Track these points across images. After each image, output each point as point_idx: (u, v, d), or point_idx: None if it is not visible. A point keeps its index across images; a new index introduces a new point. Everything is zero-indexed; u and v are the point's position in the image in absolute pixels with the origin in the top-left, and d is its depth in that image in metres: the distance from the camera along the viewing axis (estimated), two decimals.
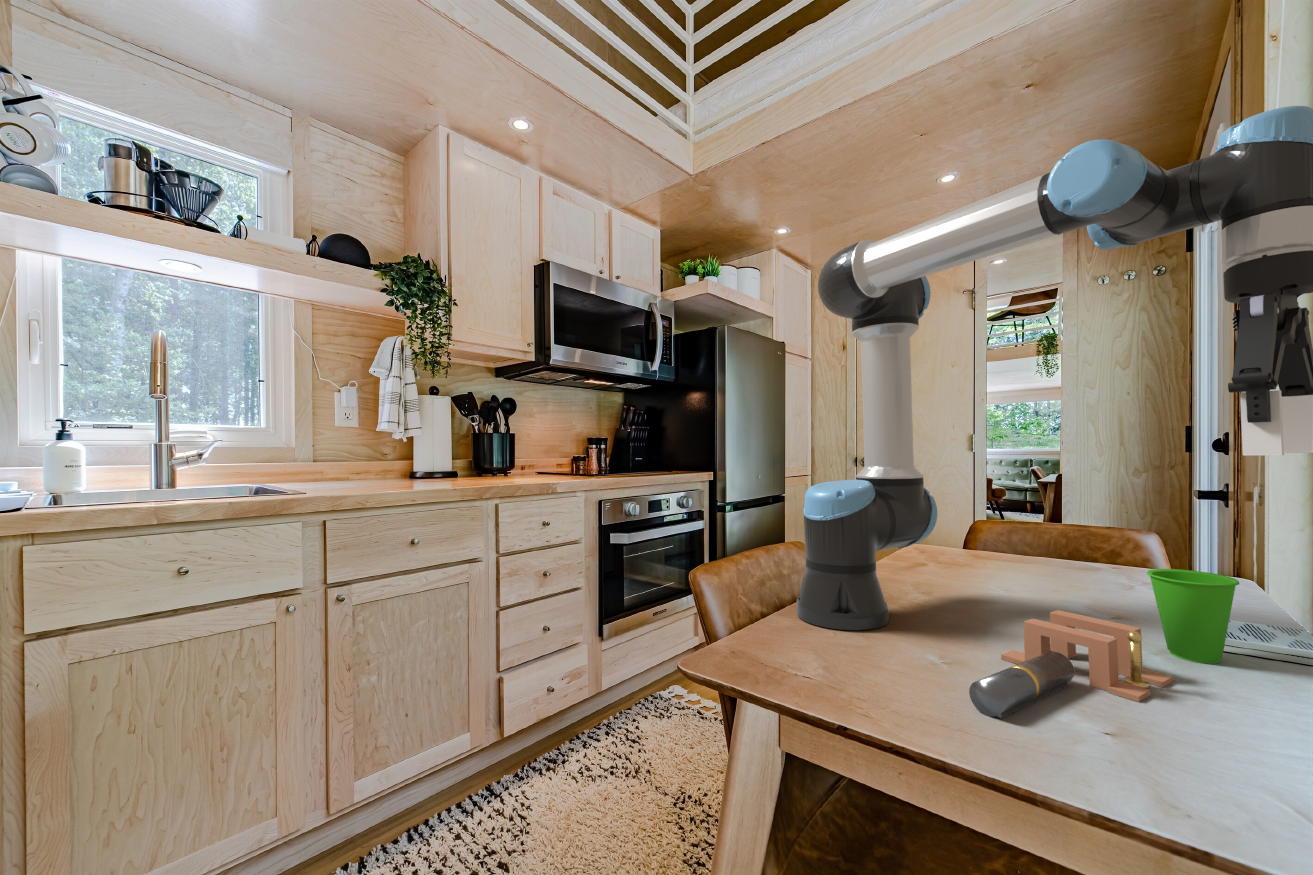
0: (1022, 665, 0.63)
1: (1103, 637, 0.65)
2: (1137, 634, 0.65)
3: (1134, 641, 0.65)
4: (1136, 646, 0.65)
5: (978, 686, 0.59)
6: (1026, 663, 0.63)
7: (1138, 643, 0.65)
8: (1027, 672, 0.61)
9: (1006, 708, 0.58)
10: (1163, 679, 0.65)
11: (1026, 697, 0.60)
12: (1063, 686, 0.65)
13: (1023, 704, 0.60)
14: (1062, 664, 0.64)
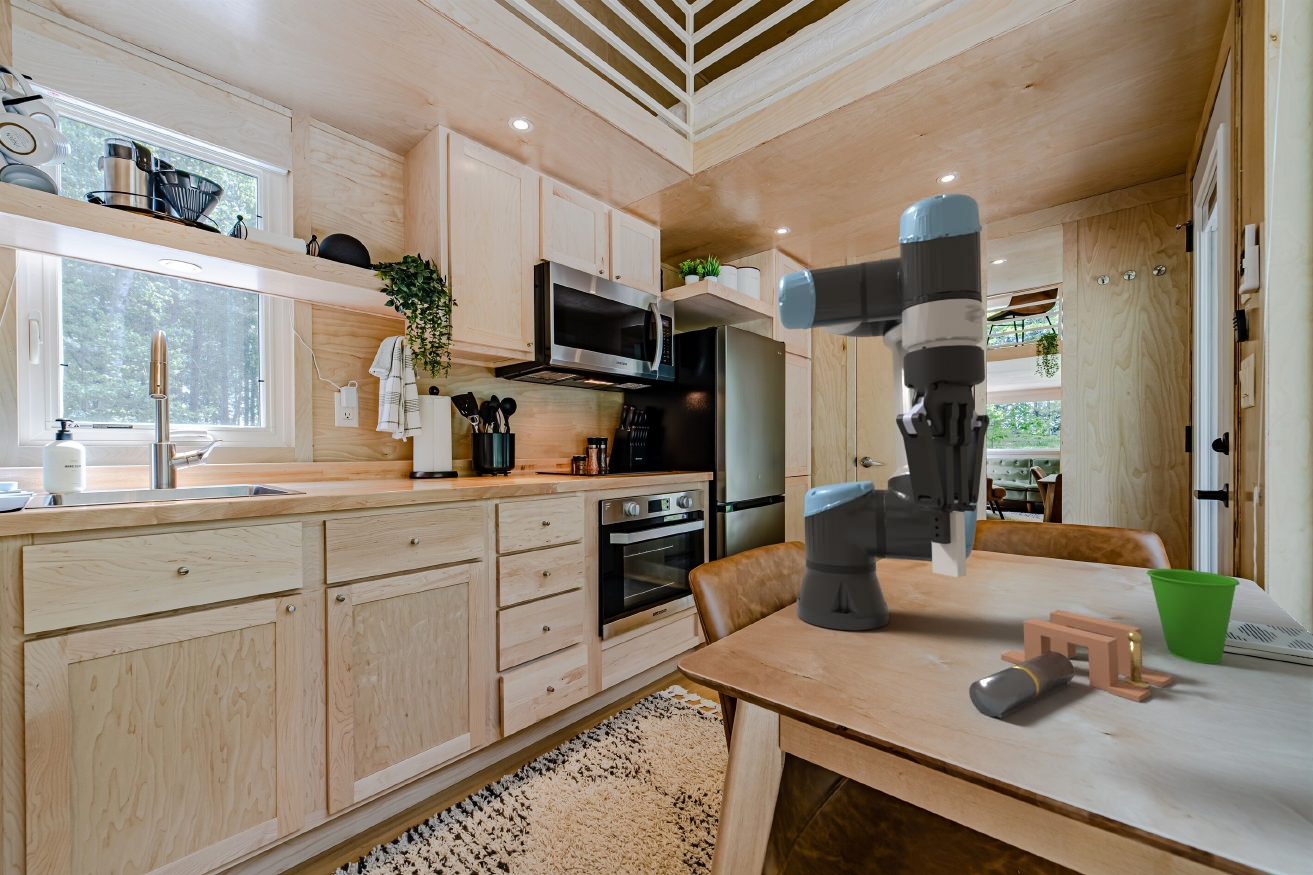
0: (1022, 665, 0.63)
1: (1103, 637, 0.65)
2: (1137, 634, 0.65)
3: (1134, 641, 0.65)
4: (1136, 646, 0.65)
5: (978, 686, 0.59)
6: (1026, 663, 0.63)
7: (1138, 643, 0.65)
8: (1027, 672, 0.61)
9: (1006, 708, 0.58)
10: (1163, 679, 0.65)
11: (1026, 697, 0.60)
12: (1063, 686, 0.65)
13: (1023, 704, 0.60)
14: (1062, 664, 0.64)
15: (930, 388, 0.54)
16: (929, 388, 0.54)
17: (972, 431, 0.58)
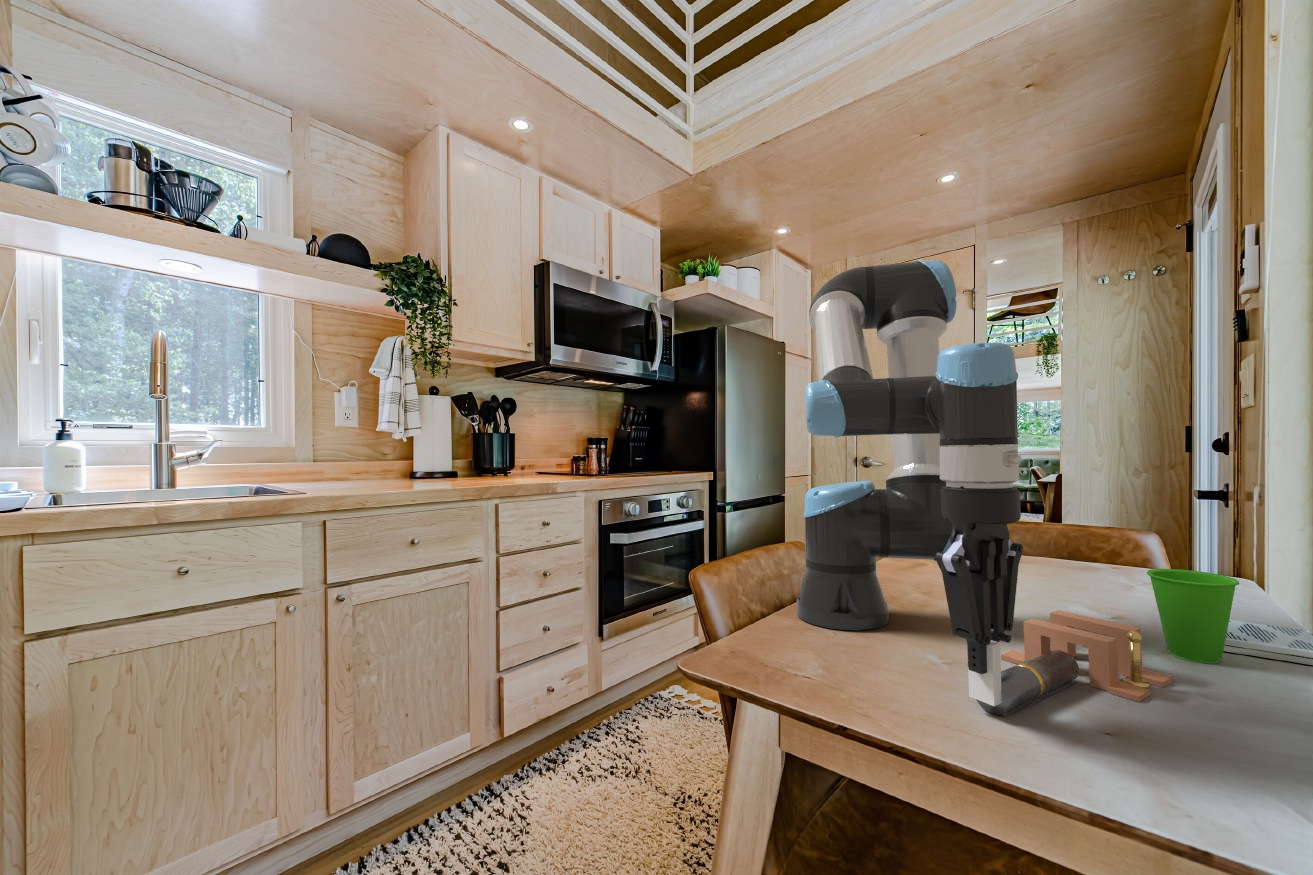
0: (1027, 664, 0.63)
1: (1103, 637, 0.65)
2: (1137, 634, 0.65)
3: (1134, 641, 0.65)
4: (1136, 646, 0.65)
5: None
6: (1031, 662, 0.64)
7: (1138, 643, 0.65)
8: (1031, 670, 0.62)
9: (1010, 706, 0.58)
10: (1163, 679, 0.65)
11: (1030, 695, 0.60)
12: (1068, 685, 0.65)
13: (1027, 702, 0.60)
14: (1067, 663, 0.65)
15: (968, 528, 0.57)
16: (967, 528, 0.57)
17: (1006, 559, 0.61)
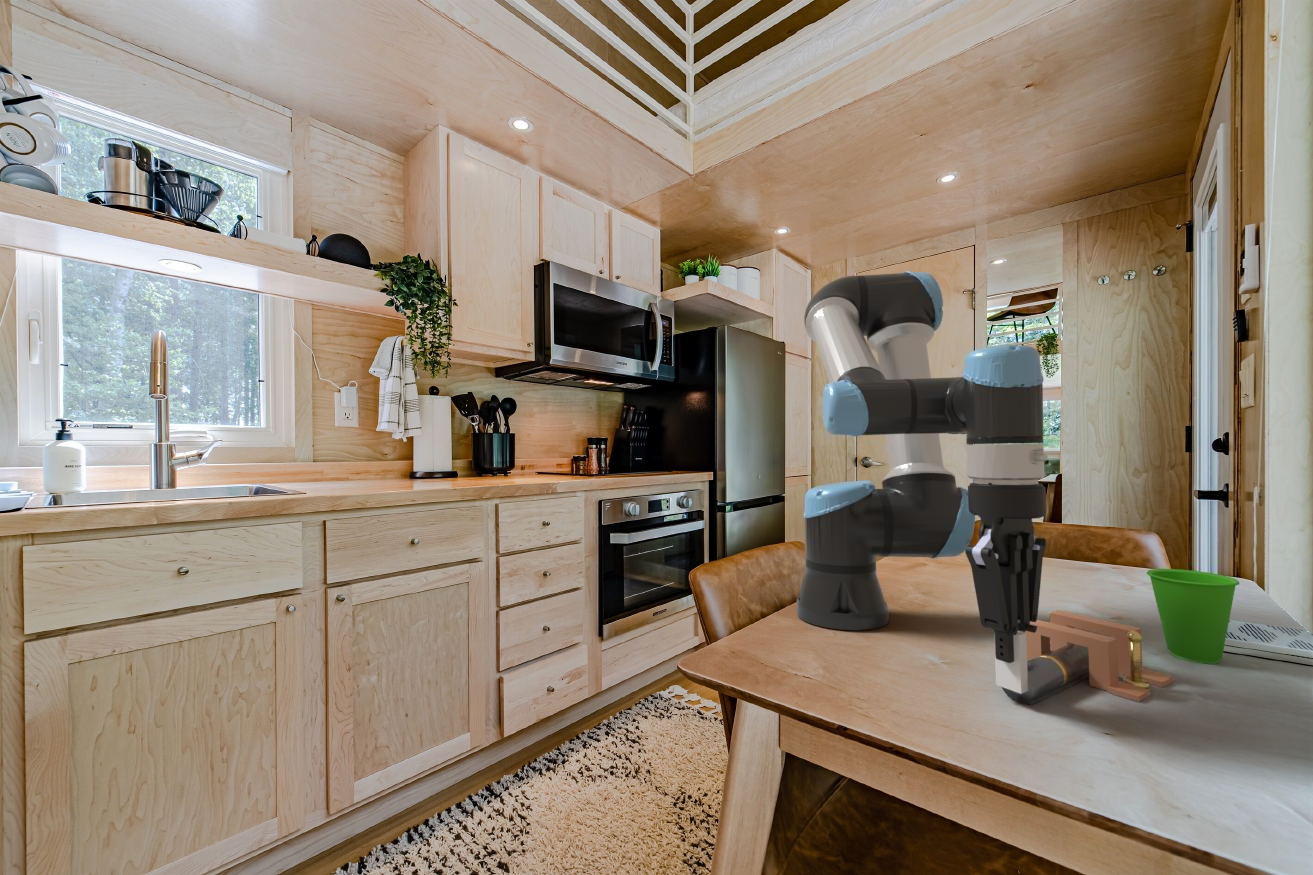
0: (1049, 655, 0.66)
1: (1103, 637, 0.65)
2: (1137, 634, 0.65)
3: (1134, 641, 0.65)
4: (1136, 646, 0.65)
5: None
6: (1053, 653, 0.66)
7: (1138, 643, 0.65)
8: (1054, 661, 0.64)
9: (1036, 695, 0.60)
10: (1163, 679, 0.65)
11: (1054, 685, 0.62)
12: (1088, 675, 0.67)
13: (1051, 691, 0.63)
14: (1087, 654, 0.67)
15: (997, 523, 0.59)
16: (996, 523, 0.59)
17: None
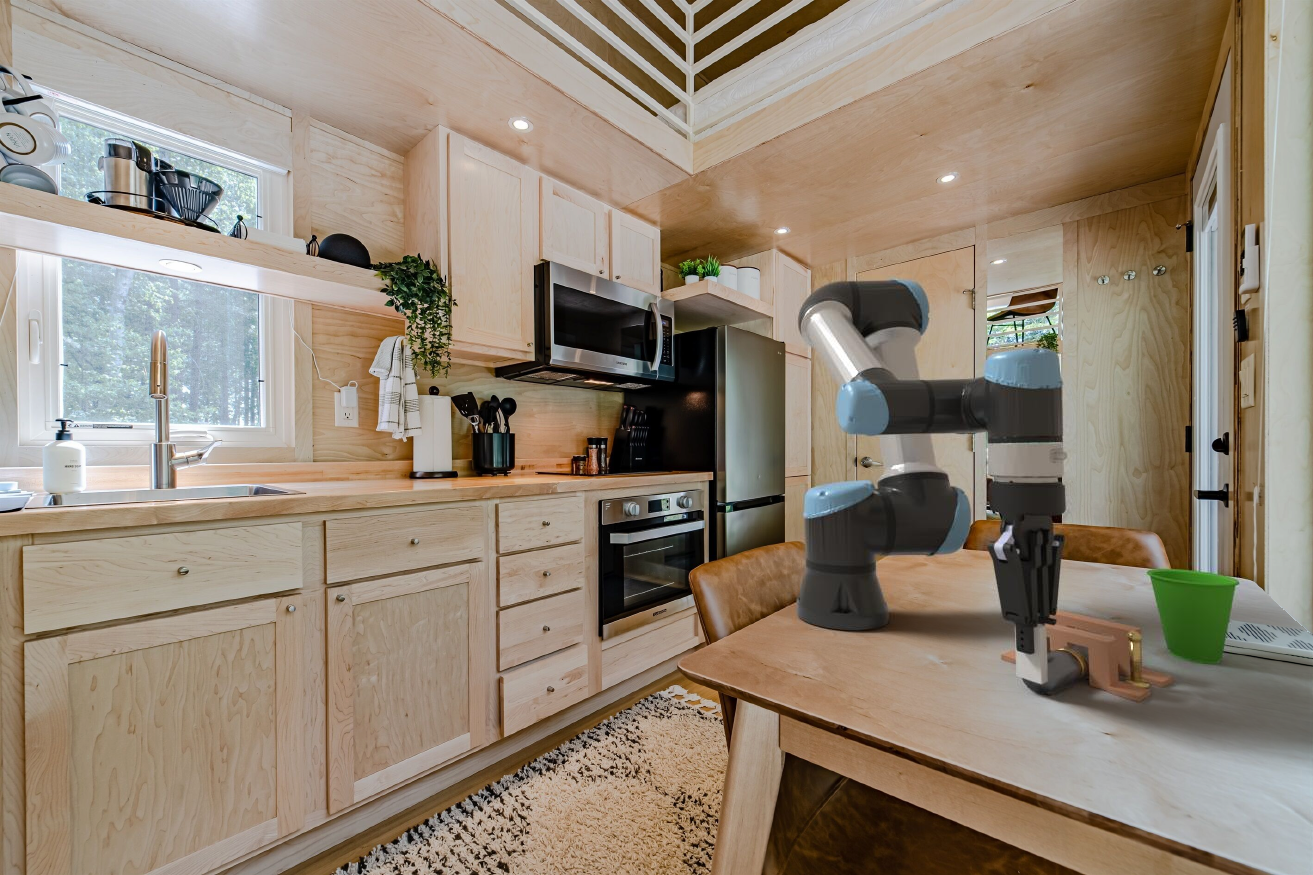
0: (1068, 648, 0.68)
1: (1103, 637, 0.65)
2: (1137, 634, 0.65)
3: (1134, 641, 0.65)
4: (1136, 646, 0.65)
5: None
6: (1071, 646, 0.68)
7: (1138, 643, 0.65)
8: (1073, 653, 0.66)
9: (1056, 685, 0.63)
10: (1163, 679, 0.65)
11: (1073, 676, 0.65)
12: None
13: (1070, 683, 0.65)
14: None
15: (1018, 519, 0.61)
16: (1017, 519, 0.62)
17: None
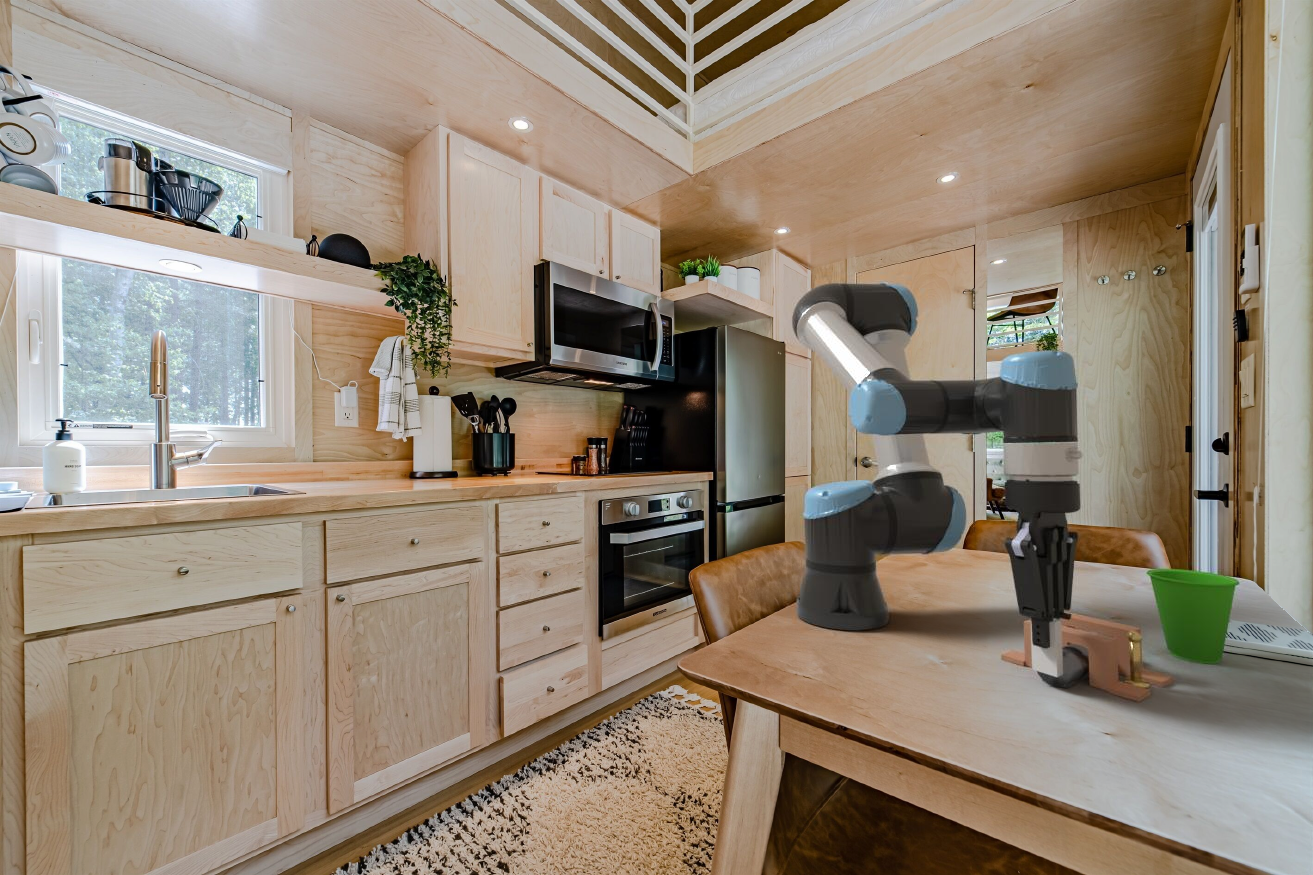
0: None
1: (1103, 637, 0.65)
2: (1137, 634, 0.65)
3: (1134, 641, 0.65)
4: (1136, 646, 0.65)
5: None
6: None
7: (1138, 643, 0.65)
8: (1086, 648, 0.68)
9: (1071, 679, 0.64)
10: (1163, 679, 0.65)
11: (1087, 670, 0.66)
12: None
13: (1084, 676, 0.67)
14: None
15: (1034, 517, 0.63)
16: (1033, 517, 0.63)
17: None
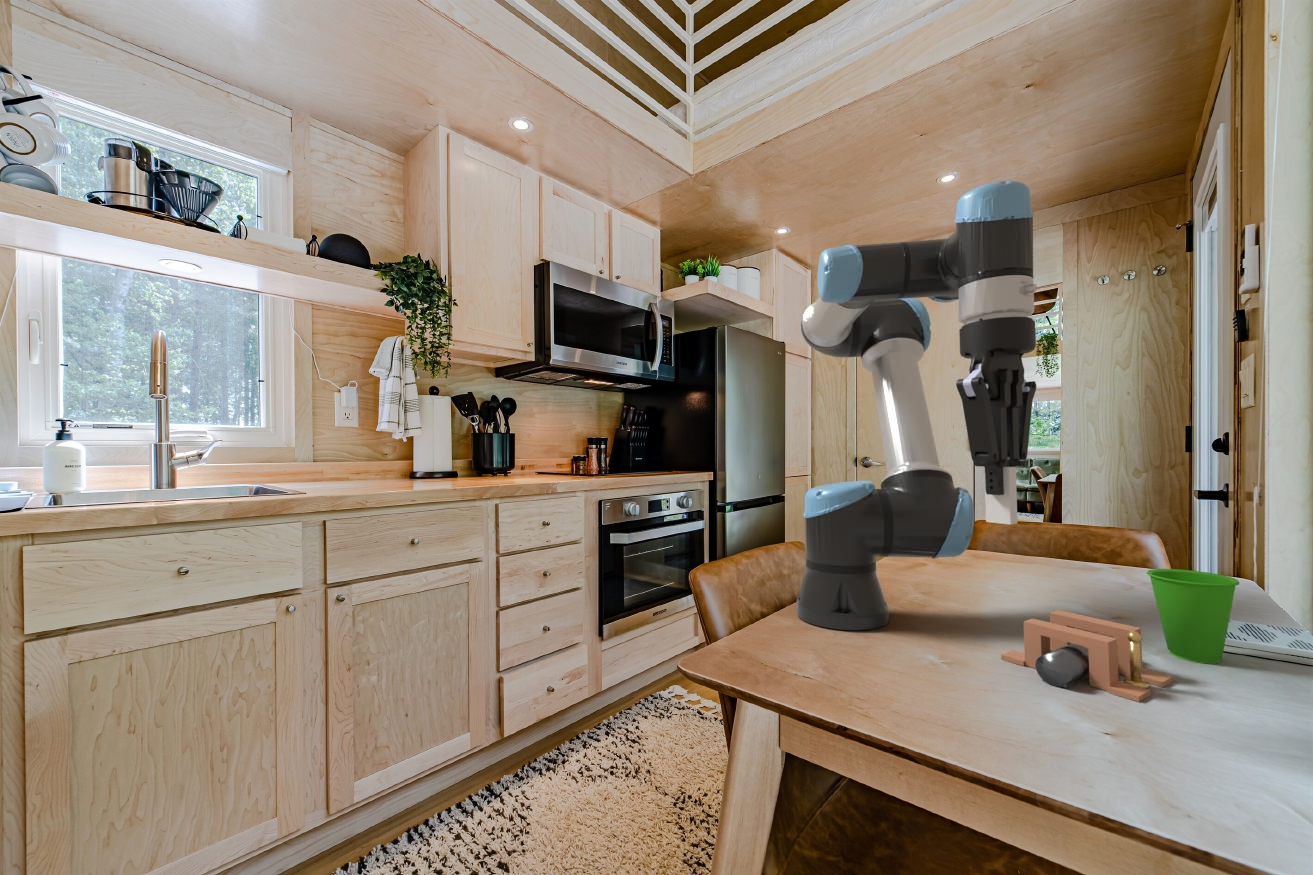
0: None
1: (1103, 637, 0.65)
2: (1137, 634, 0.65)
3: (1134, 641, 0.65)
4: (1136, 646, 0.65)
5: (1044, 659, 0.66)
6: None
7: (1138, 643, 0.65)
8: (1086, 648, 0.68)
9: (1071, 678, 0.64)
10: (1163, 679, 0.65)
11: (1087, 669, 0.66)
12: None
13: (1084, 676, 0.67)
14: None
15: (987, 355, 0.60)
16: (986, 355, 0.60)
17: None
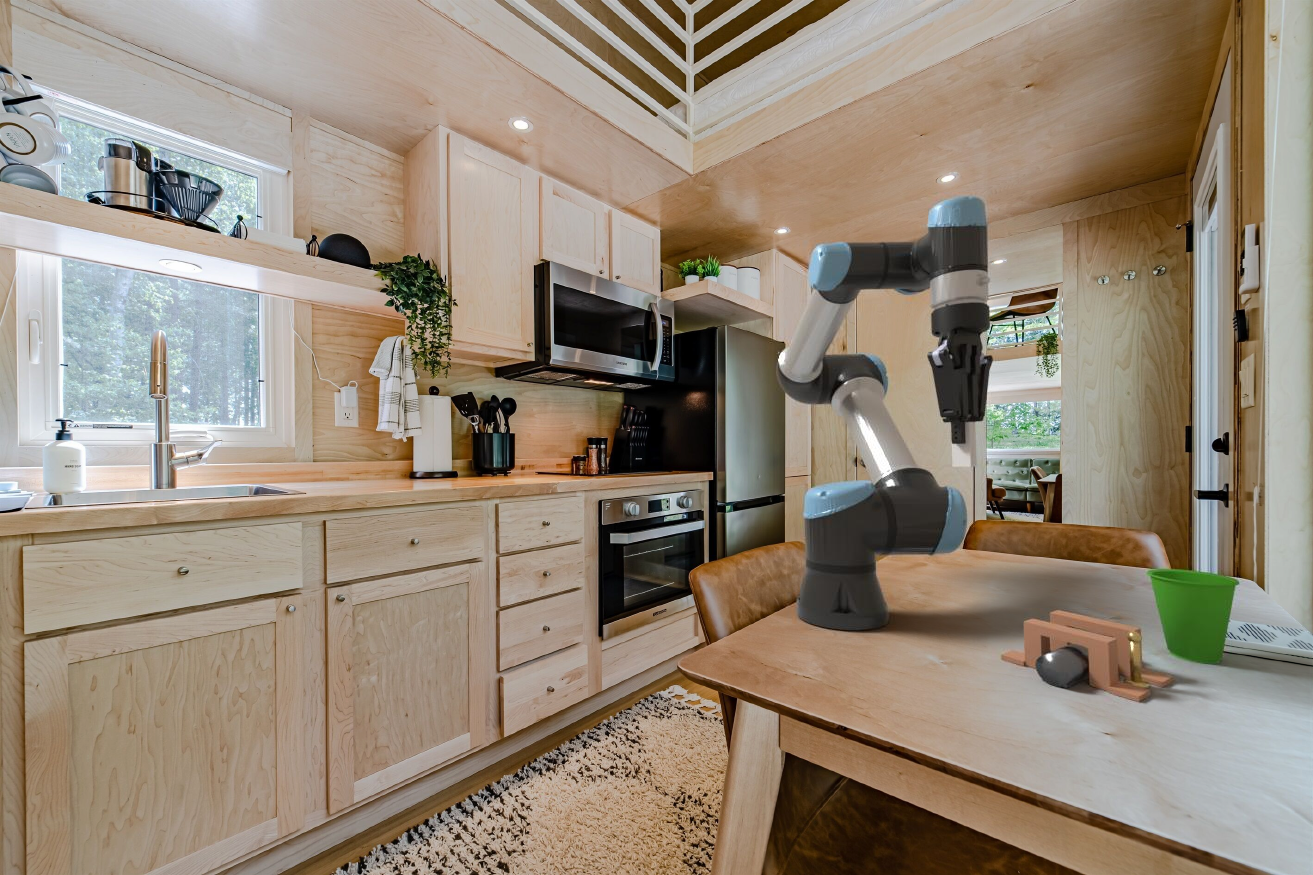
0: None
1: (1103, 637, 0.65)
2: (1137, 634, 0.65)
3: (1134, 641, 0.65)
4: (1136, 646, 0.65)
5: (1044, 659, 0.66)
6: None
7: (1138, 643, 0.65)
8: (1086, 648, 0.68)
9: (1071, 678, 0.64)
10: (1163, 679, 0.65)
11: (1087, 669, 0.66)
12: None
13: (1084, 676, 0.67)
14: None
15: (951, 333, 0.76)
16: (950, 333, 0.77)
17: (980, 367, 0.81)
